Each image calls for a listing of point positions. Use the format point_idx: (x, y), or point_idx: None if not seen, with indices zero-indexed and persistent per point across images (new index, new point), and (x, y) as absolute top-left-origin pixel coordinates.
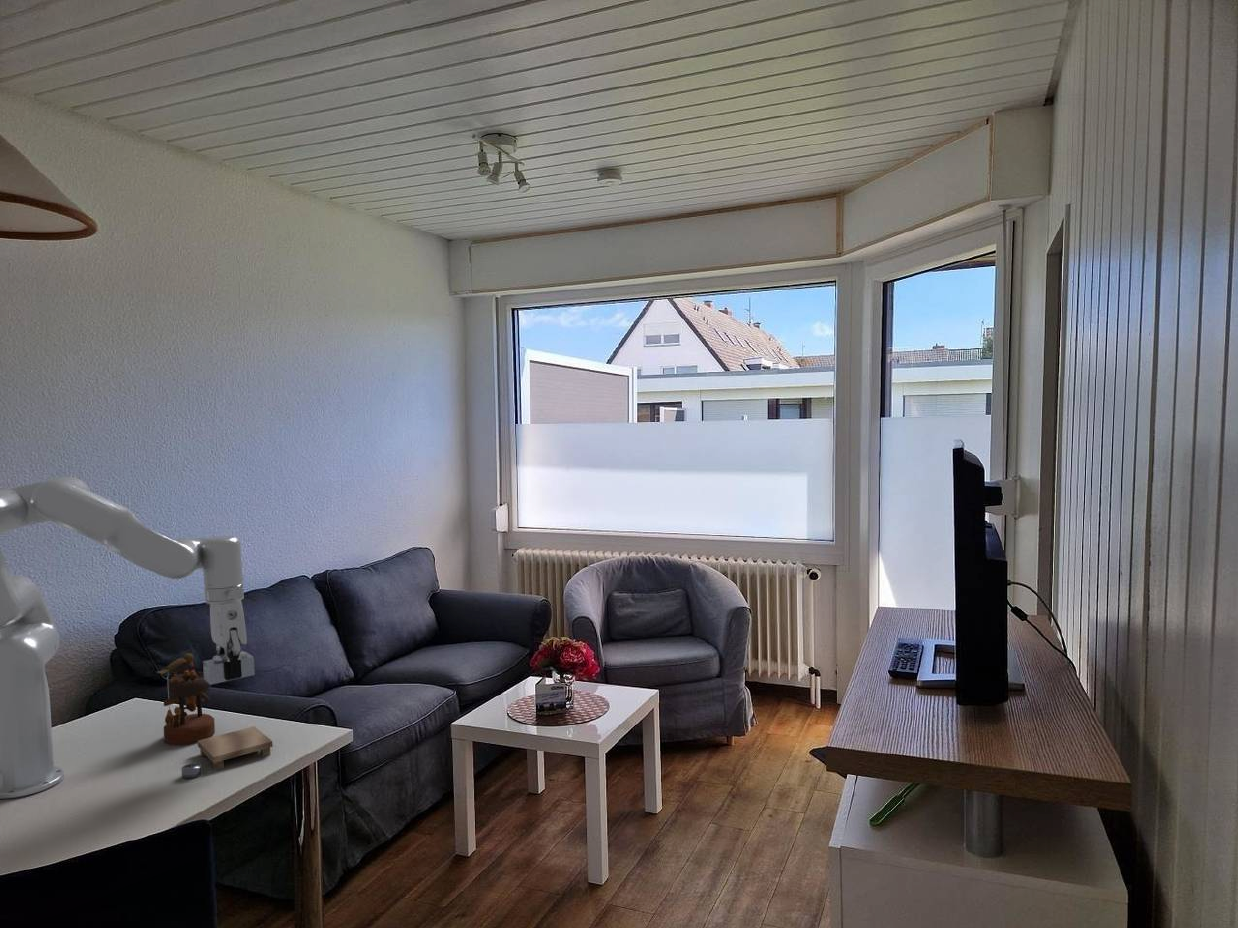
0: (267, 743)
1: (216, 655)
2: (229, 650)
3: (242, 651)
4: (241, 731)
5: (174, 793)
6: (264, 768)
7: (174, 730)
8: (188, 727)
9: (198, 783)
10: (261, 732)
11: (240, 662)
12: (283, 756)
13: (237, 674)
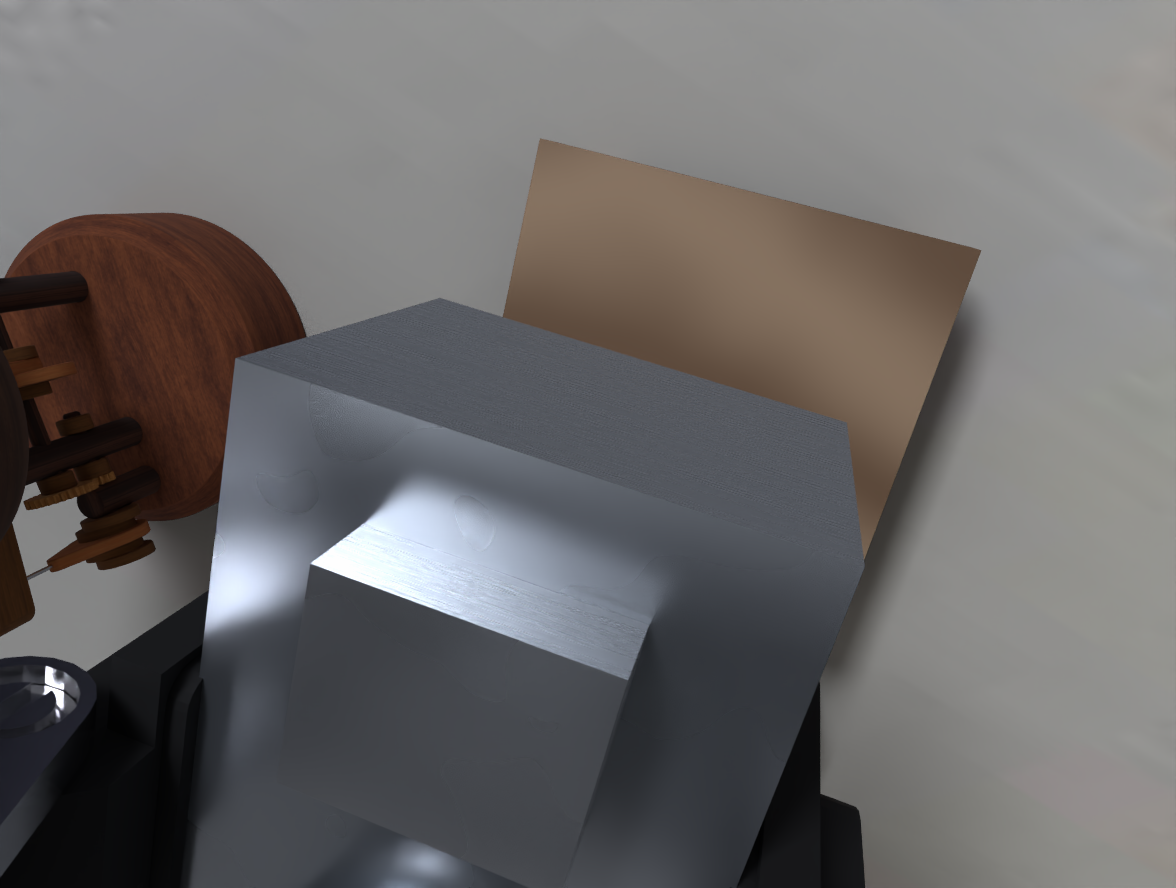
0: (963, 288)
1: None
2: (66, 771)
3: (344, 615)
4: (555, 263)
5: (902, 866)
6: (1125, 426)
7: (190, 507)
8: (223, 450)
9: (906, 743)
10: (716, 185)
11: (814, 869)
12: (1075, 220)
13: (849, 808)
